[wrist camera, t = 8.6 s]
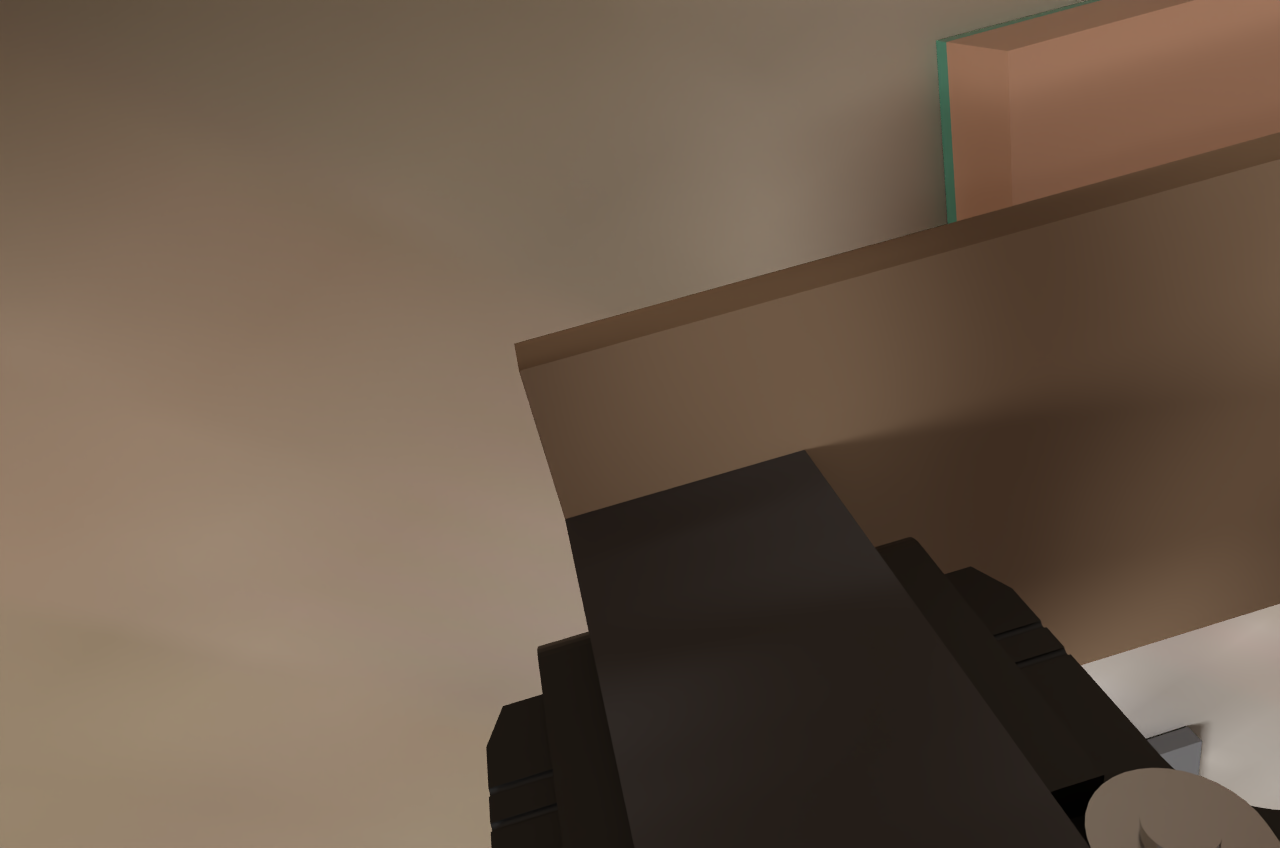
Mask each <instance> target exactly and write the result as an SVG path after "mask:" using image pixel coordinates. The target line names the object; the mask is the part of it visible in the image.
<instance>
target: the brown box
mask: <svg viewBox="0 0 1280 848" xmlns="http://www.w3.org/2000/svg"><path fill="white" fill-rule="evenodd" d="M514 345H515V350H516V356H517V362H518V367H519V372H520V375H521V379H522V382H523V385H524V388H525V391H526V395H527V398H528V401H529V404H530V408H531V411H532V414H533V417H534V420H535V424H536V427H537V430H538V433H539V437H540V440H541V443H542V446H543V449H544V453H545V456H546V459H547V462H548V465H549V469H550V472H551V475H552V478H553V482H554V485H555V488H556V491H557V494H558V498H559V501H560V504H561V507H562V511H563V514H564V517H565V521H566V525H567V530H568V535H569V540H570V544H571V549H572V554H573V559H574V563H575V568H576V573H577V578H578V582H579V587H580V592H581V597H582V601H583V606H584V611H585V616H586V620H587V625H588V630H589V635H590V639H591V644H592V649H593V654H594V658H595V663H596V668H597V673H598V677H599V682H600V687H601V692H602V696H603V701H604V706H605V711H606V715H607V720H608V725H609V730H610V734H611V739H612V744H613V749H614V753H615V758H616V763H617V768H618V772H619V777H620V782H621V787H622V791H623V796H624V801H625V806H626V810H627V815H628V820H629V825H630V829H631V834H632V839H633V844H634V848H1090V847H1089V845H1088V844H1087V843H1086V841H1085V840H1084V838H1083V837H1082V836H1081V834H1080V833H1079V831H1078V830H1077V829H1076V827H1075V826H1074V824H1073V823H1072V822H1071V820H1070V819H1069V818H1068V816H1067V815H1066V813H1065V812H1064V811H1063V809H1062V808H1061V806H1060V805H1059V804H1058V802H1057V801H1056V799H1055V798H1054V797H1053V795H1052V794H1051V792H1050V791H1049V790H1048V788H1047V787H1046V785H1045V784H1044V783H1043V781H1042V780H1041V778H1040V777H1039V776H1038V774H1037V773H1036V772H1035V770H1034V769H1033V767H1032V766H1031V765H1030V763H1029V762H1028V760H1027V759H1026V758H1025V756H1024V755H1023V753H1022V752H1021V751H1020V749H1019V748H1018V746H1017V745H1016V744H1015V742H1014V741H1013V739H1012V738H1011V737H1010V735H1009V734H1008V732H1007V731H1006V730H1005V728H1004V727H1003V726H1002V724H1001V723H1000V721H999V720H998V719H997V717H996V716H995V714H994V713H993V712H992V710H991V709H990V707H989V706H988V705H987V703H986V702H985V700H984V699H983V698H982V696H981V695H980V693H979V692H978V691H977V689H976V688H975V686H974V685H973V684H972V682H971V681H970V679H969V678H968V677H967V675H966V674H965V673H964V671H963V670H962V668H961V667H960V666H959V664H958V663H957V661H956V660H955V659H954V657H953V656H952V654H951V653H950V652H949V650H948V649H947V647H946V646H945V645H944V643H943V642H942V640H941V639H940V638H939V636H938V635H937V633H936V632H935V631H934V629H933V628H932V627H931V625H930V624H929V622H928V621H927V620H926V618H925V617H924V615H923V614H922V613H921V611H920V610H919V608H918V607H917V606H916V604H915V603H914V601H913V600H912V599H911V597H910V596H909V594H908V593H907V592H906V590H905V589H904V587H903V586H902V585H901V583H900V582H899V581H898V579H897V578H896V576H895V575H894V574H893V572H892V571H891V569H890V568H889V567H888V565H887V564H886V562H885V561H884V560H883V558H882V557H881V555H880V554H879V553H878V551H877V550H876V548H875V547H877V546H880V545H884V544H887V543H891V542H894V541H897V540H901V539H904V538H907V537H912V538H914V539H916V540H917V541H918V542H919V543H920V544H921V546H922V547H923V548H924V549H925V551H926V552H927V553H928V554H929V556H930V557H931V558H932V559H933V561H934V562H935V563H936V564H937V566H938V567H939V568H940V569H941V571H942V572H943V573H944V574H947V573H950V572H953V571H957V570H960V569H963V568H967V567H970V566H971V567H973V568H975V569H977V570H979V571H981V572H983V573H984V574H986V575H988V576H990V577H992V578H994V579H996V580H998V581H999V582H1001V583H1003V584H1005V585H1007V586H1009V587H1011V588H1013V590H1014V591H1015V592H1016V593H1017V594H1018V595H1019V596H1020V598H1021V599H1022V600H1023V601H1024V602H1025V603H1026V604H1027V605H1028V607H1029V608H1030V609H1031V610H1032V611H1033V612H1034V613H1035V614H1036V616H1037V617H1038V618H1039V619H1040V620H1041V623H1042V626H1043V627H1044V628H1045V627H1047V628H1048V629H1049V630H1050V631H1051V632H1052V634H1053V635H1054V636H1055V637H1056V638H1057V639H1058V640H1059V641H1060V643H1061V644H1062V645H1063V646H1064V647H1065V651H1066V653H1067V654H1068V655H1070V654H1071V655H1072V656H1073V657H1074V658H1075V660H1076V661H1077V662H1078V663H1079V664H1080V665H1083V664H1086V663H1090V662H1093V661H1096V660H1099V659H1102V658H1106V657H1109V656H1112V655H1115V654H1119V653H1122V652H1125V651H1128V650H1132V649H1135V648H1138V647H1141V646H1144V645H1148V644H1151V643H1154V642H1157V641H1161V640H1164V639H1167V638H1170V637H1173V636H1177V635H1180V634H1183V633H1186V632H1190V631H1193V630H1196V629H1199V628H1203V627H1206V626H1209V625H1212V624H1215V623H1219V622H1222V621H1225V620H1228V619H1232V618H1235V617H1238V616H1241V615H1244V614H1248V613H1251V612H1254V611H1257V610H1261V609H1264V608H1267V607H1270V606H1274V605H1277V604H1280V132H1278V133H1275V134H1271V135H1267V136H1264V137H1260V138H1257V139H1253V140H1249V141H1246V142H1242V143H1238V144H1235V145H1231V146H1228V147H1224V148H1220V149H1217V150H1213V151H1210V152H1206V153H1202V154H1199V155H1195V156H1191V157H1188V158H1184V159H1181V160H1177V161H1173V162H1170V163H1166V164H1163V165H1159V166H1155V167H1152V168H1148V169H1144V170H1141V171H1137V172H1134V173H1130V174H1126V175H1123V176H1119V177H1116V178H1112V179H1108V180H1105V181H1101V182H1097V183H1094V184H1090V185H1087V186H1083V187H1079V188H1076V189H1072V190H1069V191H1065V192H1061V193H1058V194H1054V195H1050V196H1047V197H1043V198H1040V199H1036V200H1032V201H1029V202H1025V203H1022V204H1018V205H1014V206H1011V207H1007V208H1003V209H1000V210H996V211H993V212H989V213H985V214H982V215H978V216H974V217H971V218H967V219H964V220H960V221H956V222H953V223H949V224H946V225H942V226H938V227H935V228H931V229H927V230H924V231H920V232H917V233H913V234H909V235H906V236H902V237H899V238H895V239H891V240H888V241H884V242H880V243H877V244H873V245H870V246H866V247H862V248H859V249H855V250H852V251H848V252H844V253H841V254H837V255H833V256H830V257H826V258H823V259H819V260H815V261H812V262H808V263H805V264H801V265H797V266H794V267H790V268H786V269H783V270H779V271H776V272H772V273H768V274H765V275H761V276H758V277H754V278H750V279H747V280H743V281H739V282H736V283H732V284H729V285H725V286H721V287H718V288H714V289H710V290H707V291H703V292H700V293H696V294H692V295H689V296H685V297H682V298H678V299H674V300H671V301H667V302H663V303H660V304H656V305H653V306H649V307H645V308H642V309H638V310H635V311H631V312H627V313H624V314H620V315H616V316H613V317H609V318H606V319H602V320H598V321H595V322H591V323H588V324H584V325H580V326H577V327H573V328H569V329H566V330H562V331H559V332H555V333H551V334H548V335H544V336H541V337H537V338H533V339H530V340H526V341H522V342H519V343H515V344H514Z"/></svg>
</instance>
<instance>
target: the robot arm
mask: <svg viewBox="0 0 1280 848" xmlns="http://www.w3.org/2000/svg"><path fill="white" fill-rule="evenodd" d="M875 548H876V550H877V551H878V553H879V554H880V555H881V557H882V558H883V560H884V561H885V562H886V564H887V565H888V567H889V568H890V569H891V571H892V572H893V574H894V575H895V576H896V578H897V579H898V581H899V582H900V583H901V585H902V586H903V587H904V589H905V590H906V592H907V593H908V594H909V596H910V597H911V599H912V600H913V601H914V603H915V604H916V606H917V607H918V608H919V610H920V611H921V613H922V614H923V615H924V617H925V618H926V620H927V621H928V622H929V624H930V625H931V627H932V628H933V629H934V631H935V632H936V633H937V635H938V636H939V638H940V639H941V640H942V642H943V643H944V645H945V646H946V647H947V649H948V650H949V652H950V653H951V654H952V656H953V657H954V659H955V660H956V661H957V663H958V664H959V666H960V667H961V668H962V670H963V671H964V673H965V674H966V675H967V677H968V678H969V679H970V681H971V682H972V684H973V685H974V686H975V688H976V689H977V691H978V692H979V693H980V695H981V696H982V698H983V699H984V700H985V702H986V703H987V705H988V706H989V707H990V709H991V710H992V712H993V713H994V714H995V716H996V717H997V719H998V720H999V721H1000V723H1001V724H1002V726H1003V727H1004V728H1005V730H1006V731H1007V732H1008V734H1009V735H1010V737H1011V738H1012V739H1013V741H1014V742H1015V744H1016V745H1017V746H1018V748H1019V749H1020V751H1021V752H1022V753H1023V755H1024V756H1025V758H1026V759H1027V760H1028V762H1029V763H1030V765H1031V766H1032V767H1033V769H1034V770H1035V772H1036V773H1037V774H1038V776H1039V777H1040V778H1041V780H1042V781H1043V783H1044V784H1045V785H1046V787H1047V788H1048V790H1049V791H1050V792H1051V794H1052V795H1053V797H1054V798H1055V799H1056V801H1057V802H1058V804H1059V805H1060V806H1061V808H1062V809H1063V811H1064V812H1065V813H1066V815H1067V816H1068V818H1069V819H1070V820H1071V822H1072V823H1073V824H1074V826H1075V827H1076V829H1077V830H1078V831H1079V833H1080V834H1081V836H1082V837H1083V838H1084V840H1085V841H1086V843H1087V844H1088V845H1089V847H1090V848H1280V810H1272V809H1266V808H1260V807H1254V806H1250V805H1249V804H1248V803H1247V802H1246V801H1245V800H1243V799H1242V798H1241V797H1239V796H1238V795H1237V794H1235V793H1234V792H1232V791H1231V790H1229V789H1227V788H1225V787H1224V786H1222V785H1220V784H1218V783H1216V782H1214V781H1212V780H1209V779H1207V778H1204V777H1202V776H1199V775H1196V774H1192V773H1189V772H1185V771H1180V770H1175V769H1174V768H1173V767H1172V766H1171V765H1170V764H1169V763H1168V762H1167V761H1166V760H1165V759H1164V758H1163V757H1162V756H1161V755H1160V754H1159V753H1158V752H1157V751H1156V750H1155V749H1154V747H1153V746H1152V745H1151V744H1150V743H1149V742H1148V741H1147V740H1146V738H1145V737H1144V736H1143V735H1142V734H1141V733H1140V732H1139V731H1138V729H1137V728H1136V727H1135V726H1134V725H1133V724H1132V723H1131V722H1130V720H1129V719H1128V718H1127V717H1126V716H1125V715H1124V714H1123V712H1122V711H1121V710H1120V709H1119V708H1118V707H1117V706H1116V705H1115V703H1114V702H1113V701H1112V700H1111V699H1110V698H1109V697H1108V696H1107V694H1106V693H1105V692H1104V691H1103V690H1102V689H1101V688H1100V687H1099V685H1098V684H1097V683H1096V682H1095V681H1094V680H1093V679H1092V678H1091V676H1090V675H1089V674H1088V673H1087V672H1086V671H1085V670H1084V669H1083V667H1082V666H1081V665H1080V664H1079V663H1078V662H1077V661H1076V660H1075V658H1074V657H1073V656H1072V655H1071V654H1070V655H1068V654H1067V653H1066V651H1065V647H1064V646H1063V645H1062V644H1061V643H1060V641H1059V640H1058V639H1057V638H1056V637H1055V636H1054V635H1053V634H1052V632H1051V631H1050V630H1049V629H1048V628H1047V627H1045V628H1044V627H1043V626H1042V623H1041V620H1040V619H1039V618H1038V617H1037V616H1036V614H1035V613H1034V612H1033V611H1032V610H1031V609H1030V608H1029V607H1028V605H1027V604H1026V603H1025V602H1024V601H1023V600H1022V599H1021V598H1020V596H1019V595H1018V594H1017V593H1016V592H1015V591H1014V590H1013V588H1011V587H1009V586H1007V585H1005V584H1003V583H1001V582H999V581H998V580H996V579H994V578H992V577H990V576H988V575H986V574H984V573H983V572H981V571H979V570H977V569H975V568H973V567H971V566H970V567H967V568H963V569H960V570H957V571H953V572H950V573H947V574H944V573H943V572H942V571H941V569H940V568H939V567H938V566H937V564H936V563H935V562H934V561H933V559H932V558H931V557H930V556H929V554H928V553H927V552H926V551H925V549H924V548H923V547H922V546H921V544H920V543H919V542H918V541H917V540H916V539H914V538H912V537H907V538H904V539H901V540H897V541H894V542H891V543H887V544H884V545H880V546H877V547H875ZM537 652H538V662H539V669H540V677H541V685H542V692H543V694H542V695H539V696H535V697H532V698H529V699H525V700H522V701H519V702H515V703H512V704H509V705H505V706H503V707H502V710H501V712H500V715H499V717H498V720H497V722H496V725H495V727H494V730H493V732H492V735H491V737H490V740H489V742H488V744H487V747H486V749H487V768H488V787H489V791H490V797H489V807H490V824H491V827H492V832H491V845H492V848H634V844H633V839H632V834H631V829H630V825H629V820H628V815H627V810H626V806H625V801H624V796H623V791H622V787H621V782H620V777H619V772H618V768H617V763H616V758H615V753H614V749H613V744H612V739H611V734H610V730H609V725H608V720H607V715H606V711H605V706H604V701H603V696H602V692H601V687H600V682H599V677H598V673H597V668H596V663H595V658H594V654H593V649H592V644H591V639H590V635H589V632H586V633H582V634H579V635H576V636H572V637H569V638H566V639H562V640H559V641H555V642H552V643H549V644H545V645H542V646H539V647H538V649H537Z"/></svg>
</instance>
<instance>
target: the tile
mask: <svg viewBox="0 0 1280 848" xmlns="http://www.w3.org/2000/svg"><path fill="white" fill-rule="evenodd" d="M936 47H937V64H938V81H939V97H940V112H941V128H942V144H943V159H944V175H945V191H946V207H947V222H948V224H949V223H953V222H956V221H960V220H964V219H967V218H971V217H974V216H978V215H982V214H985V213H989V212H993V211H996V210H1000V209H1003V208H1007V207H1011V206H1014V205H1018V204H1022V203H1025V202H1029V201H1032V200H1036V199H1040V198H1043V197H1047V196H1050V195H1054V194H1058V193H1061V192H1065V191H1069V190H1072V189H1076V188H1079V187H1083V186H1087V185H1090V184H1094V183H1097V182H1101V181H1105V180H1108V179H1112V178H1116V177H1119V176H1123V175H1126V174H1130V173H1134V172H1137V171H1141V170H1144V169H1148V168H1152V167H1155V166H1159V165H1163V164H1166V163H1170V162H1173V161H1177V160H1181V159H1184V158H1188V157H1191V156H1195V155H1199V154H1202V153H1206V152H1210V151H1213V150H1217V149H1220V148H1224V147H1228V146H1231V145H1235V144H1238V143H1242V142H1246V141H1249V140H1253V139H1257V138H1260V137H1264V136H1267V135H1271V134H1275V133H1278V132H1280V0H1088V1H1084V2H1080V3H1076V4H1073V5H1069V6H1065V7H1061V8H1058V9H1054V10H1050V11H1046V12H1042V13H1039V14H1035V15H1031V16H1027V17H1024V18H1020V19H1016V20H1012V21H1008V22H1005V23H1001V24H997V25H993V26H989V27H986V28H982V29H978V30H974V31H971V32H967V33H963V34H959V35H955V36H952V37H948V38H944V39H940V40H937V41H936Z"/></svg>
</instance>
